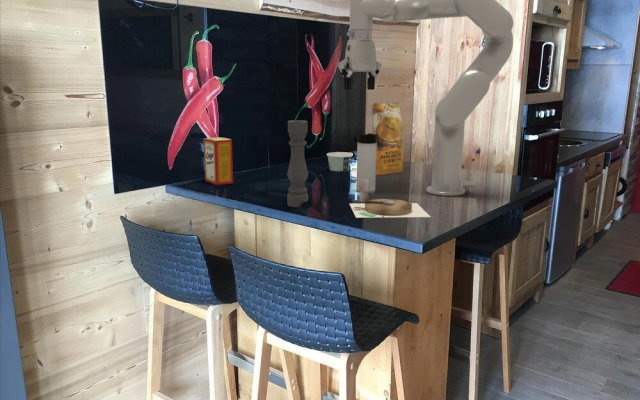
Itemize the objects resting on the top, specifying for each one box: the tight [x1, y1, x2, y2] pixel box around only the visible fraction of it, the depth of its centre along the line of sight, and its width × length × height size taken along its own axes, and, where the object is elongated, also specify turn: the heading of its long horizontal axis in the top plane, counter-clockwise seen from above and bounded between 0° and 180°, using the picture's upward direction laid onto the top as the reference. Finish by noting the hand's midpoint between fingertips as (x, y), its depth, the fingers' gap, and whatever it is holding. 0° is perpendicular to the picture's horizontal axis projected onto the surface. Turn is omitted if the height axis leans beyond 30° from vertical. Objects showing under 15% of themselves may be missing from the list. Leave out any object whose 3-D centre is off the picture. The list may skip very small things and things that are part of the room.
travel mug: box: [355, 132, 377, 194], centre depth 178 cm, size 6×7×20 cm
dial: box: [352, 179, 412, 215], centre depth 150 cm, size 16×13×8 cm
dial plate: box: [349, 202, 431, 219], centre depth 151 cm, size 20×16×2 cm
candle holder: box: [286, 119, 309, 208], centre depth 160 cm, size 6×6×25 cm
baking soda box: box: [203, 136, 234, 186], centre depth 195 cm, size 10×6×16 cm
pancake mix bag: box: [371, 102, 404, 176], centre depth 215 cm, size 7×19×28 cm, turn 130°
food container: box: [326, 151, 353, 172], centre depth 224 cm, size 12×12×6 cm
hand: (359, 89), depth 181 cm, fingers open, 9 cm apart
